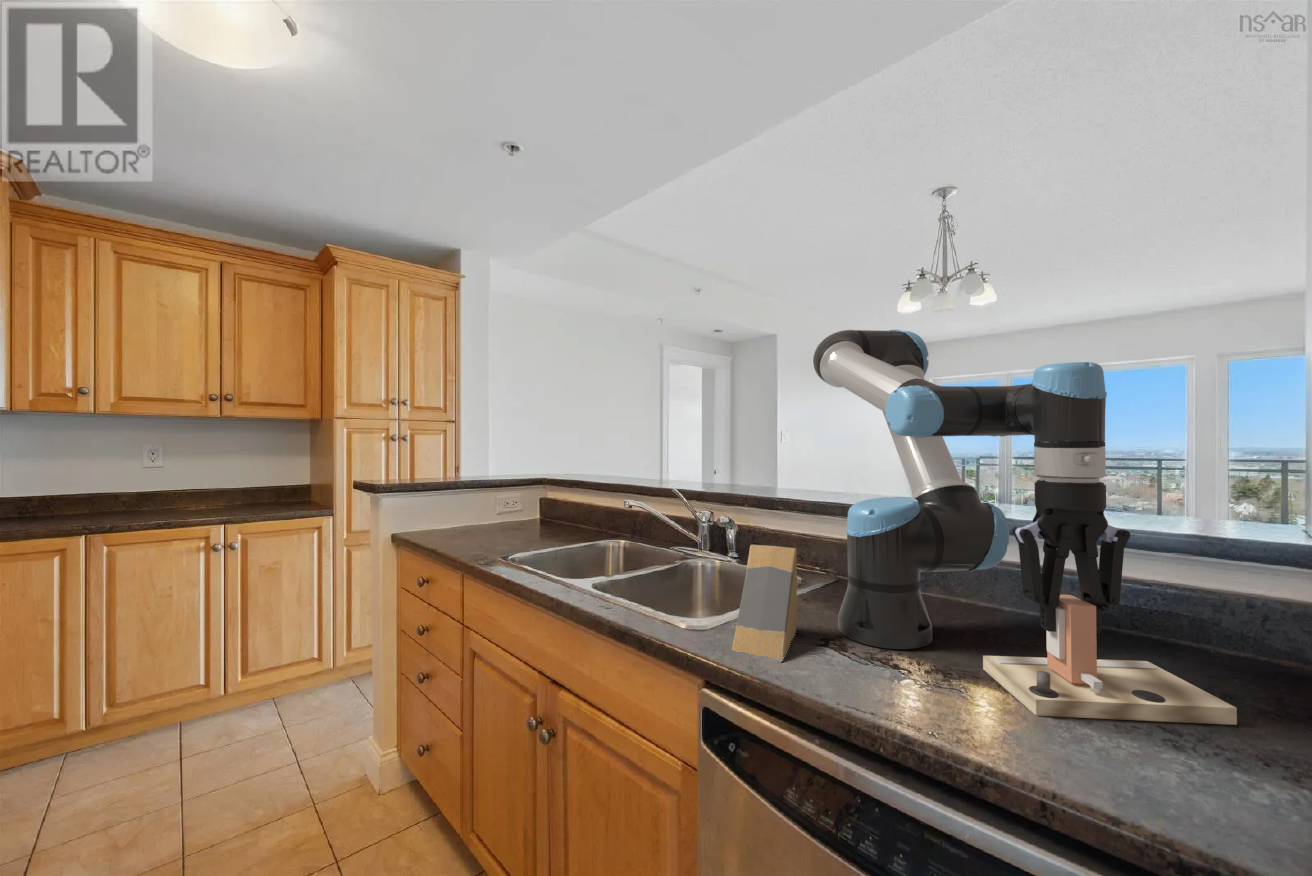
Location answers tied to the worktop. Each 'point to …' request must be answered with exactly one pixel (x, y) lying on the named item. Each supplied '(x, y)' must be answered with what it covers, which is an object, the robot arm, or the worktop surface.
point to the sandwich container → (768, 602)
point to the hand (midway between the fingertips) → (1071, 655)
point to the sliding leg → (1078, 644)
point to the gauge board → (1109, 692)
